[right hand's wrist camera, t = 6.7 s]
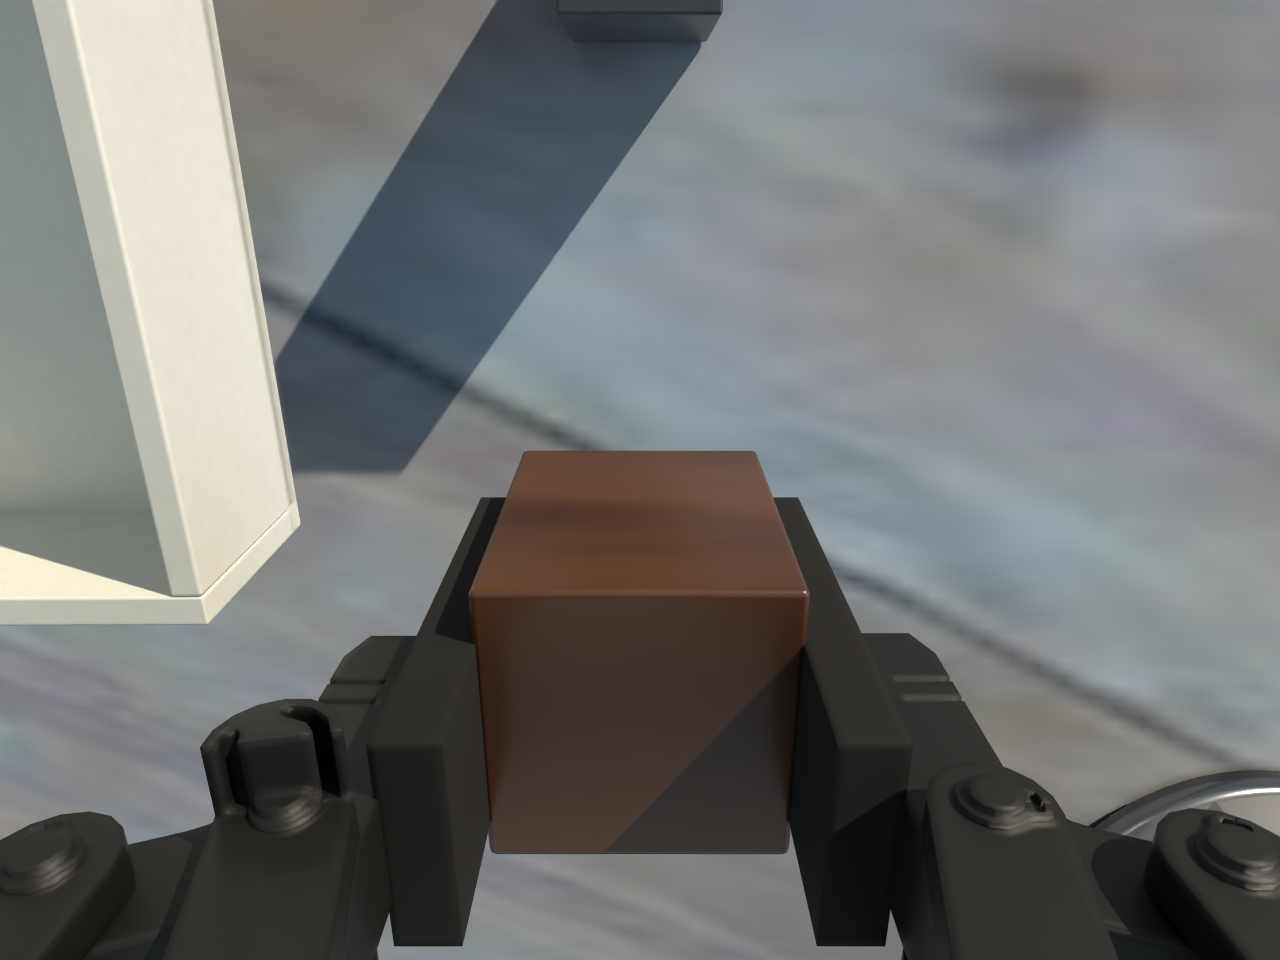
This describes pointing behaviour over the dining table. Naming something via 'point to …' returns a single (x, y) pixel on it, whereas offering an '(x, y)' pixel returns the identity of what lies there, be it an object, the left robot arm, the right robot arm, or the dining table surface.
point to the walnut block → (639, 656)
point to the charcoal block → (639, 20)
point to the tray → (129, 324)
